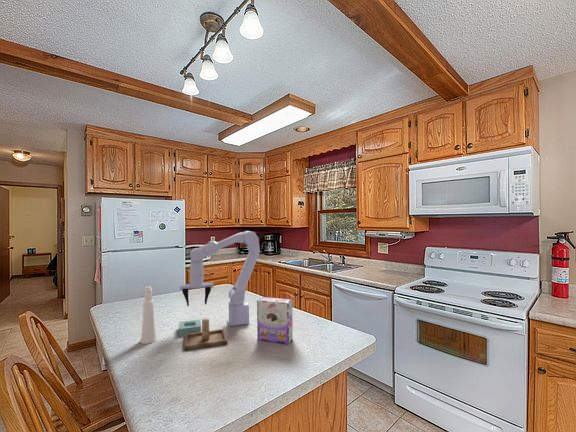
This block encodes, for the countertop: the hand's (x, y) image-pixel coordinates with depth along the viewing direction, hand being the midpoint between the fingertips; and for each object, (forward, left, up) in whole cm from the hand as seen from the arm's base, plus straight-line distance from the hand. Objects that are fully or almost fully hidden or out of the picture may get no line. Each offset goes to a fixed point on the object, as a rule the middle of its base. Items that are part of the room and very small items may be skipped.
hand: (196, 304), depth 129 cm
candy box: (-30, +24, -11) cm, 40 cm away
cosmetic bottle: (+19, +8, -11) cm, 23 cm away
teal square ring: (+3, +3, -10) cm, 11 cm away
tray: (-3, +16, -10) cm, 19 cm away
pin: (-3, +16, -10) cm, 19 cm away
